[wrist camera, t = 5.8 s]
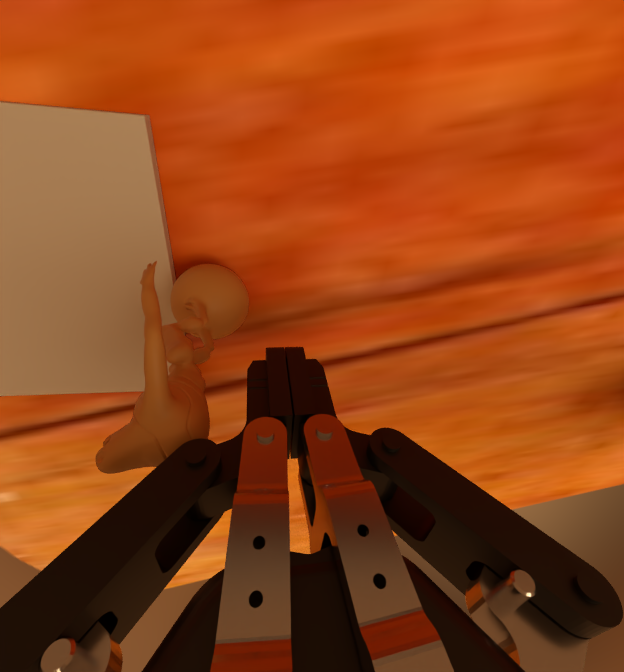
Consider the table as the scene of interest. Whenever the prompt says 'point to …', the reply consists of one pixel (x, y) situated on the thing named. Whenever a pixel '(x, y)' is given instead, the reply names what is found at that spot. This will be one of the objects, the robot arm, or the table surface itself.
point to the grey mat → (78, 249)
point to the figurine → (176, 366)
